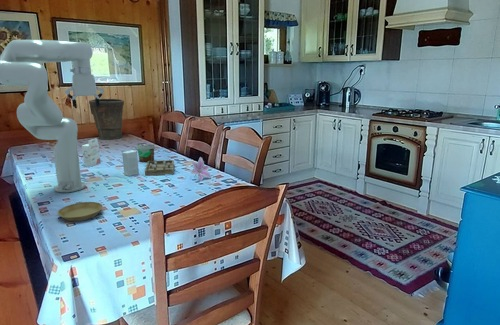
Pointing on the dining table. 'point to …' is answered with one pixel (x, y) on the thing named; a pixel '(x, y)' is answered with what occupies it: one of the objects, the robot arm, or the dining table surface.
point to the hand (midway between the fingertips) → (86, 107)
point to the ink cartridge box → (91, 153)
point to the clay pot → (108, 118)
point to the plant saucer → (80, 211)
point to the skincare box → (130, 163)
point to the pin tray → (159, 167)
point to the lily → (200, 169)
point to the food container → (145, 152)
